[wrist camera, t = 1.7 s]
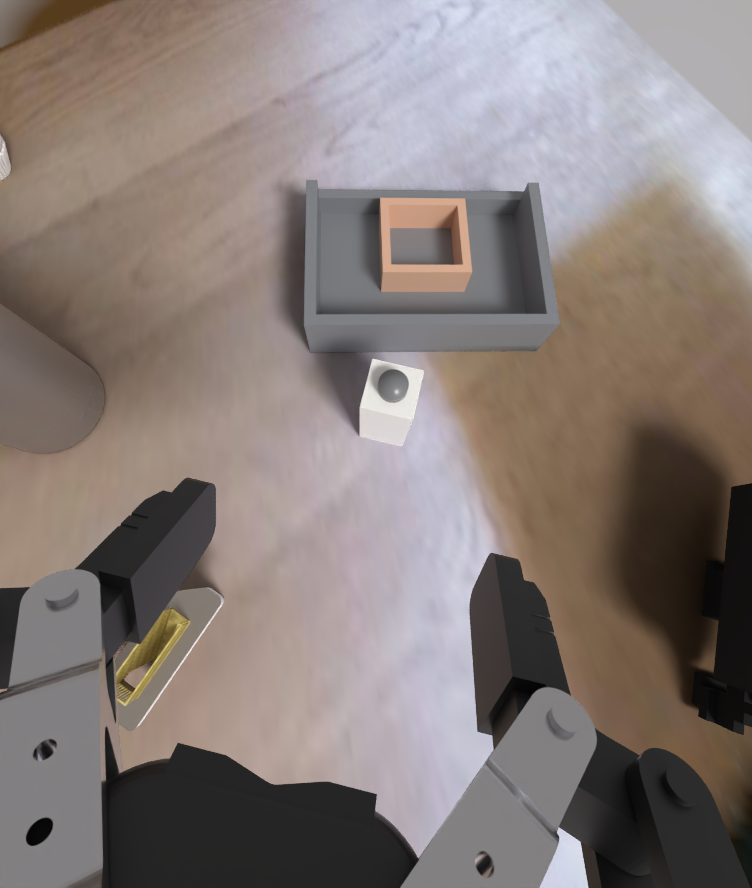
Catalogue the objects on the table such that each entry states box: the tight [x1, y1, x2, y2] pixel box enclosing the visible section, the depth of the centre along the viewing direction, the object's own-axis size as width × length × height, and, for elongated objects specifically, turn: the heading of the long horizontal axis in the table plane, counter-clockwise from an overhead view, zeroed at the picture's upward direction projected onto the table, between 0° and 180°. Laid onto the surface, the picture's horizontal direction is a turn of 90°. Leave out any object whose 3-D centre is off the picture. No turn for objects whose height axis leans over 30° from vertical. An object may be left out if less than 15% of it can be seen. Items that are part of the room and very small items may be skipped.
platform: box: [115, 587, 224, 731], centre depth 31 cm, size 12×18×7 cm, turn 148°
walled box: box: [304, 180, 560, 352], centre depth 40 cm, size 22×16×5 cm
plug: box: [360, 359, 424, 447], centre depth 35 cm, size 4×4×9 cm
